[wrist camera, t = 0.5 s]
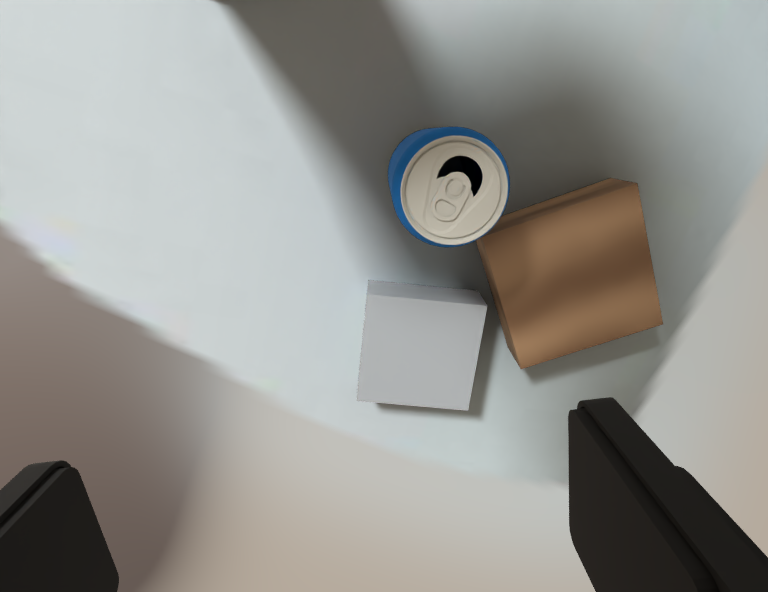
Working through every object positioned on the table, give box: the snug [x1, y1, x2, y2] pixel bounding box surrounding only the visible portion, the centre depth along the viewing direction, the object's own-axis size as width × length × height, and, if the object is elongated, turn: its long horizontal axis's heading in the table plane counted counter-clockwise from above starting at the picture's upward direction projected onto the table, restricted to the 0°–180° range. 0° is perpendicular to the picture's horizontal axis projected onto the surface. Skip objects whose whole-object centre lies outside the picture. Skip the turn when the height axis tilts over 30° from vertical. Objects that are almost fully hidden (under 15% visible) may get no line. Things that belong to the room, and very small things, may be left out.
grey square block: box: [357, 280, 487, 411], centre depth 39 cm, size 9×9×4 cm
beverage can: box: [388, 127, 510, 247], centre depth 31 cm, size 6×6×12 cm
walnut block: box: [476, 178, 663, 369], centre depth 37 cm, size 11×11×4 cm
